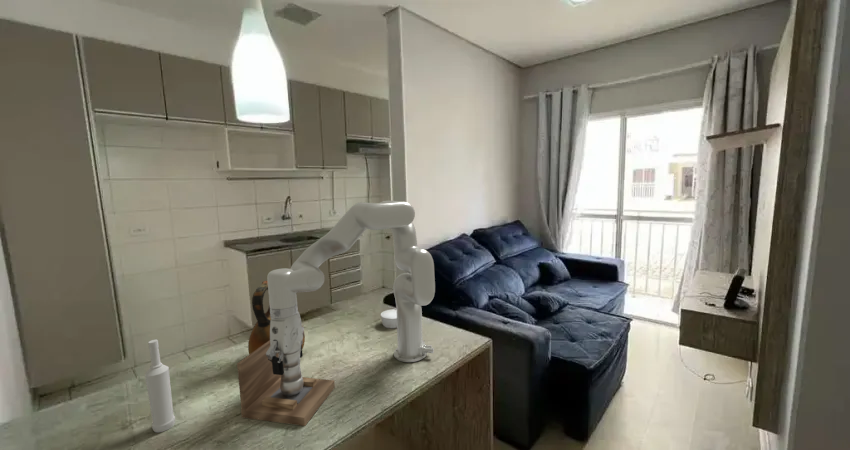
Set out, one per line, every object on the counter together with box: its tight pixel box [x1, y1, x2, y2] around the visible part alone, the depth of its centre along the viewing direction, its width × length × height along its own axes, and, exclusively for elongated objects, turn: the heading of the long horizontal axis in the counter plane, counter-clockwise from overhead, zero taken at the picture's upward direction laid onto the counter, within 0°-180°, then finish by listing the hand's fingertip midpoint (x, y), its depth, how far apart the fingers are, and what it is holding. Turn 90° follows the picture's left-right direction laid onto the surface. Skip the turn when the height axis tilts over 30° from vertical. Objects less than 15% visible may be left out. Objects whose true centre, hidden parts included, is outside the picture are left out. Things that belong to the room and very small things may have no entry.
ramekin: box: [380, 308, 397, 329], centre depth 161 cm, size 11×11×5 cm
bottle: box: [144, 339, 176, 433], centre depth 94 cm, size 5×5×25 cm
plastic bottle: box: [278, 341, 304, 396], centre depth 104 cm, size 6×7×20 cm
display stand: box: [236, 340, 336, 427], centre depth 104 cm, size 20×18×16 cm
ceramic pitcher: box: [247, 280, 306, 355], centre depth 131 cm, size 20×20×30 cm
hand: (288, 365), depth 104 cm, fingers open, 9 cm apart
